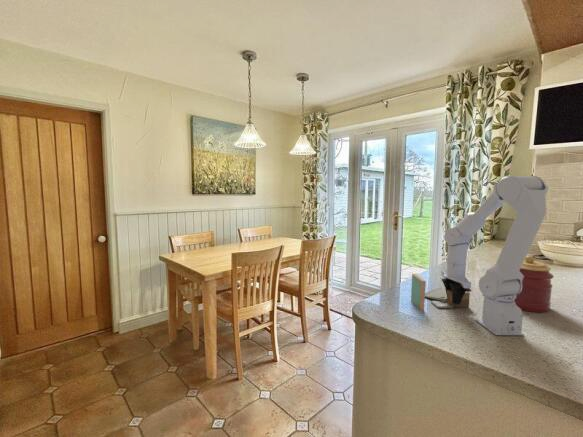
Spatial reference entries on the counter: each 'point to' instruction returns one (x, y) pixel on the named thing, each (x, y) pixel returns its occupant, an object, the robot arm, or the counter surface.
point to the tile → (418, 291)
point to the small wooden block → (450, 302)
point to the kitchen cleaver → (438, 294)
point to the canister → (535, 286)
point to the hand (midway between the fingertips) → (453, 301)
